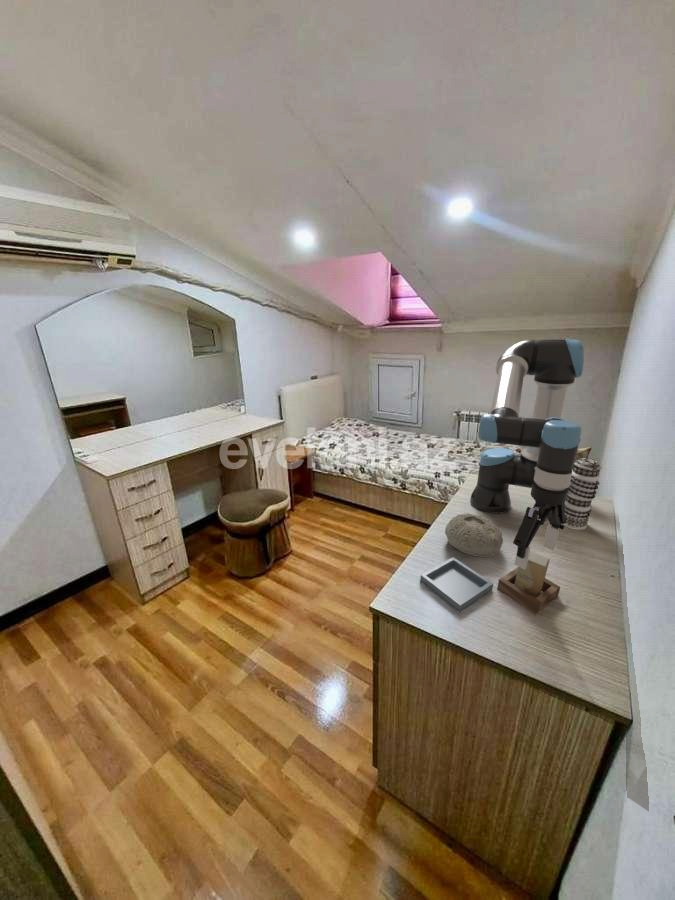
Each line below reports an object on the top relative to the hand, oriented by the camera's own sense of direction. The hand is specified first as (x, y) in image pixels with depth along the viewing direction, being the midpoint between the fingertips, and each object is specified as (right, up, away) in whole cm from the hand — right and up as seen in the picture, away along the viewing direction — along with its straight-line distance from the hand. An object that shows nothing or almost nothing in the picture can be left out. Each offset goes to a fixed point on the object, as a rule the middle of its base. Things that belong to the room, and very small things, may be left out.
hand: (534, 556), depth 92 cm
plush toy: (+42, +7, +51) cm, 66 cm away
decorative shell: (-7, -5, +25) cm, 26 cm away
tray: (-18, -11, +8) cm, 23 cm away
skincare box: (0, -12, +5) cm, 13 cm away
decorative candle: (+34, +1, +36) cm, 50 cm away
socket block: (0, -12, +5) cm, 13 cm away
